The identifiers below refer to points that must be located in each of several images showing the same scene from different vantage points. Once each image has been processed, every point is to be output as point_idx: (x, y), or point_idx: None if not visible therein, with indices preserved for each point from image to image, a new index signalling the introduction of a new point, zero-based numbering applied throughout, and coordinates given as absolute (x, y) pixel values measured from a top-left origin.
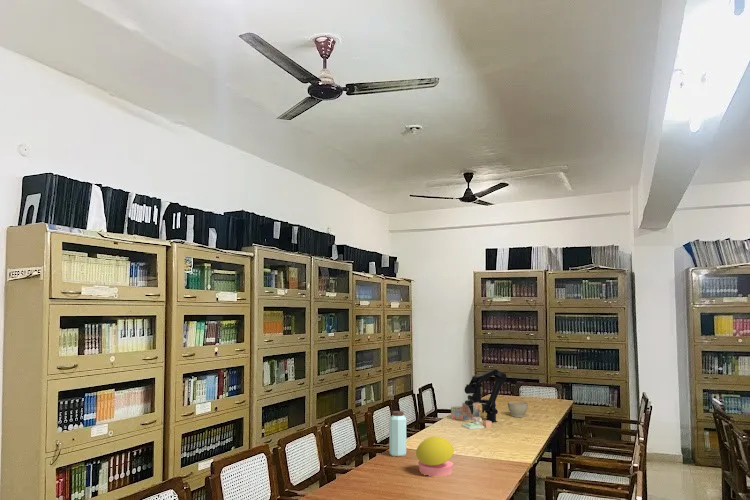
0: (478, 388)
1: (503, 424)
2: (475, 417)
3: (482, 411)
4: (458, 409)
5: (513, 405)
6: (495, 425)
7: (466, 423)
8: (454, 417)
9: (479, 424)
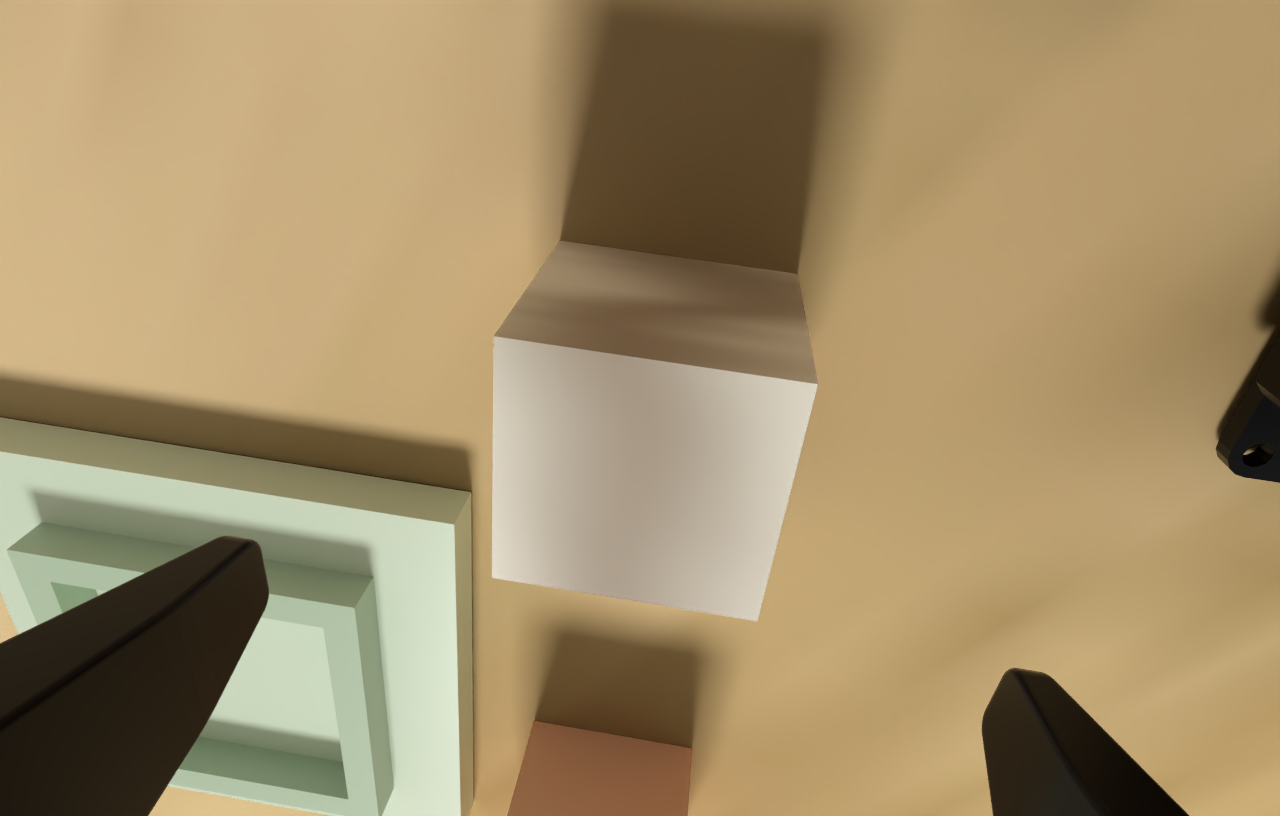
0: None
1: (1270, 786)
2: (558, 435)
3: (1040, 792)
4: None
5: None
6: (948, 764)
7: (44, 598)
8: None
9: (367, 808)
